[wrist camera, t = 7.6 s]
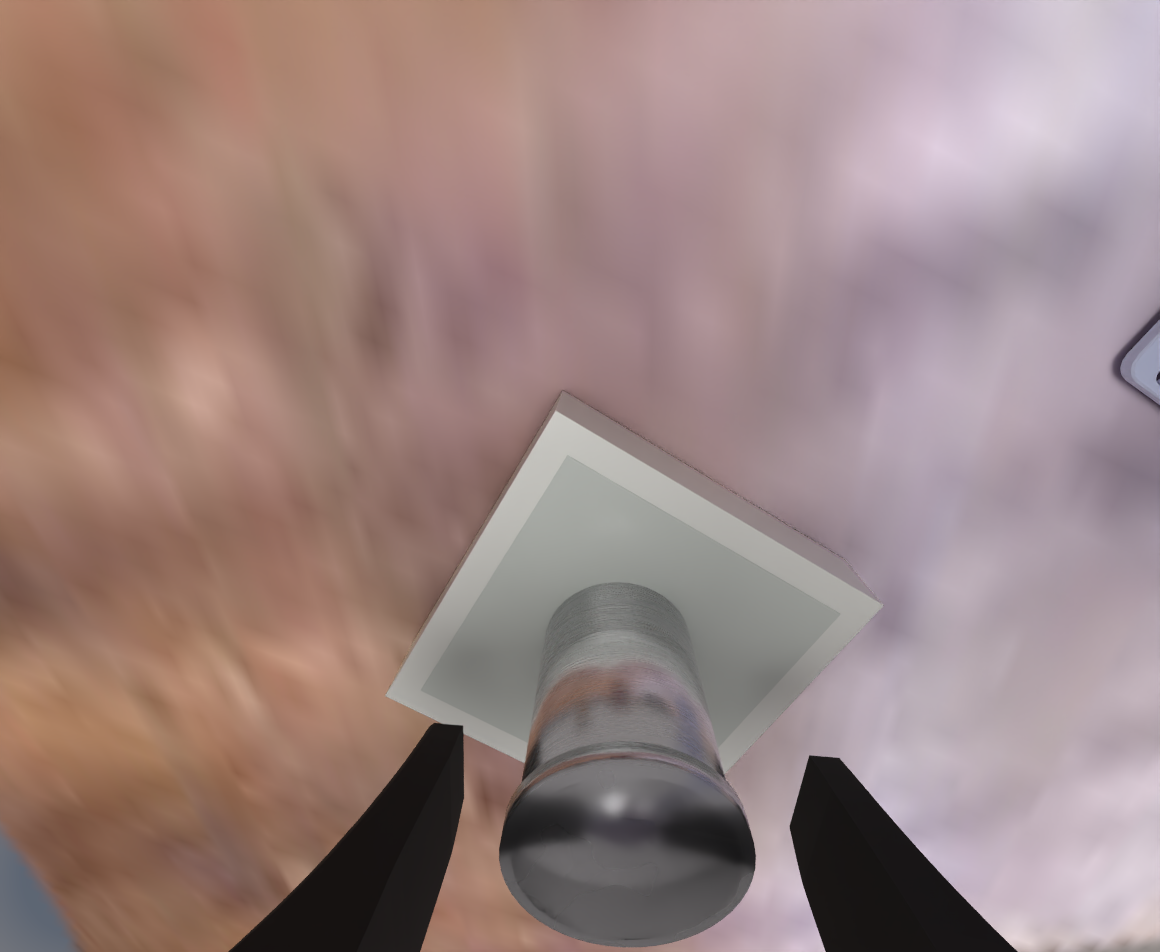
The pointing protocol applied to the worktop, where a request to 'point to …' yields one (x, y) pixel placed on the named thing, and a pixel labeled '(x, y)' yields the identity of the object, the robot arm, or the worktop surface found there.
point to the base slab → (638, 556)
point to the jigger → (624, 781)
